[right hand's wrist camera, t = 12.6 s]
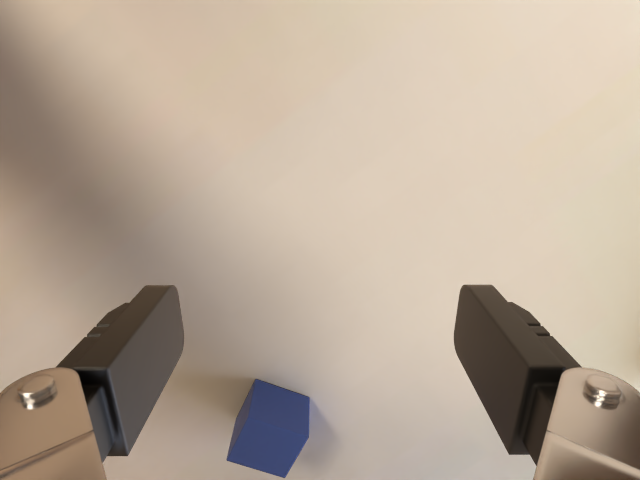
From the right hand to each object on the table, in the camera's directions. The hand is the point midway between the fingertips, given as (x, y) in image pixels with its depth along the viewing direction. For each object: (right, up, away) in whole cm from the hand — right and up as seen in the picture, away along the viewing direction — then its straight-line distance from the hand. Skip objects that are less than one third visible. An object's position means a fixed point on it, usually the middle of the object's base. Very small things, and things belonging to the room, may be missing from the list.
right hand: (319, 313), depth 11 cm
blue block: (-4, -13, +24) cm, 28 cm away
